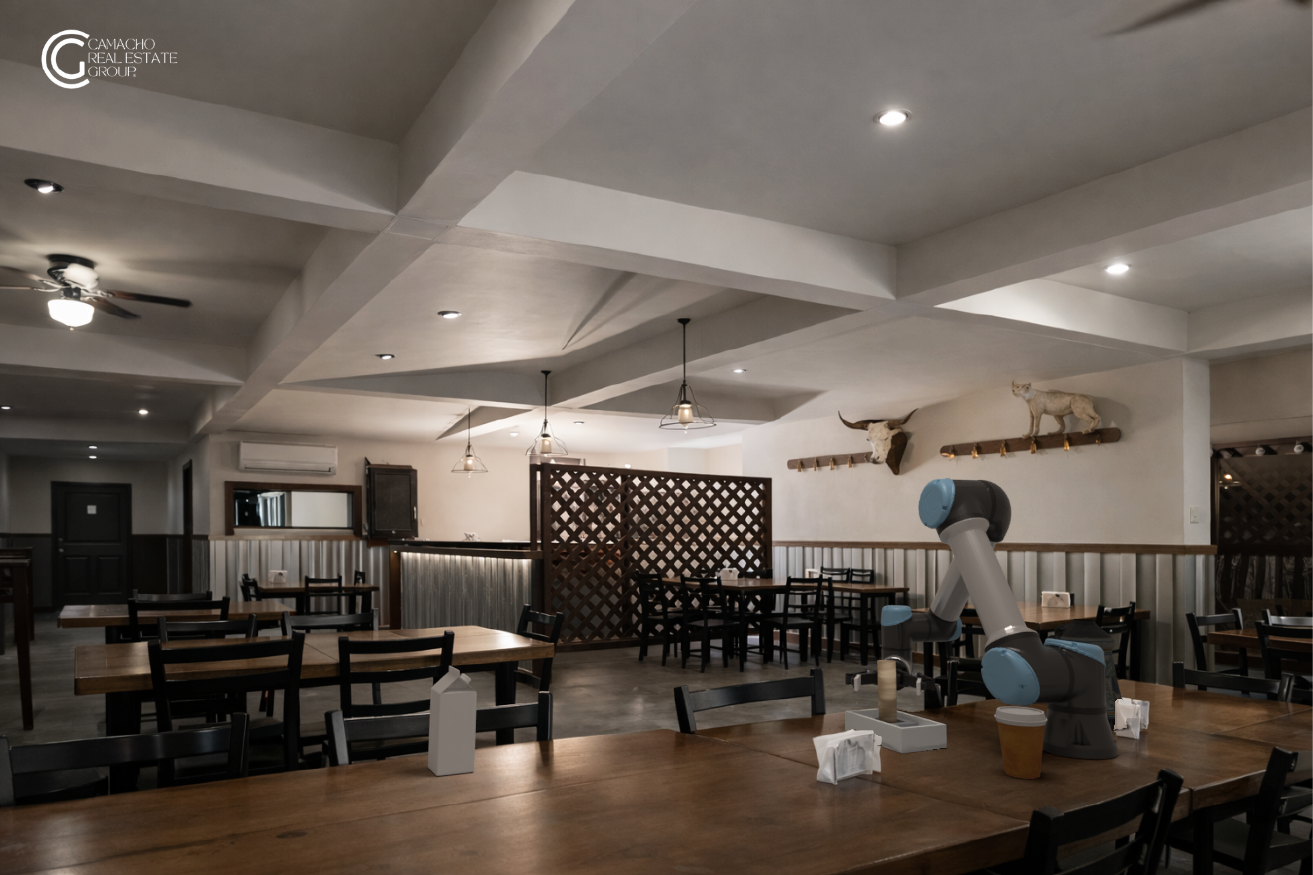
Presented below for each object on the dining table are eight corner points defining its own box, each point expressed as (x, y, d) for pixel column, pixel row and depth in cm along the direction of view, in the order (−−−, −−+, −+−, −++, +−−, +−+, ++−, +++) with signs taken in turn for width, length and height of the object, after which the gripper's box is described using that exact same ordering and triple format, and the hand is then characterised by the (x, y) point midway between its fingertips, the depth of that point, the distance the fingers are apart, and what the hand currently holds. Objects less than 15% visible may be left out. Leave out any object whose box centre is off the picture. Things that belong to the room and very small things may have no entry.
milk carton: (436, 777, 167) (440, 671, 169) (427, 767, 173) (431, 666, 175) (474, 772, 170) (477, 669, 172) (464, 763, 177) (467, 664, 178)
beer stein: (1126, 734, 211) (1122, 625, 213) (1037, 724, 221) (1034, 620, 223) (1130, 721, 225) (1126, 619, 228) (1046, 712, 235) (1043, 615, 237)
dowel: (901, 734, 202) (899, 661, 204) (886, 736, 200) (884, 662, 202) (889, 731, 206) (888, 659, 207) (875, 732, 204) (873, 660, 206)
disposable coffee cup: (1057, 781, 169) (1055, 715, 170) (1006, 780, 169) (1004, 714, 170) (1037, 768, 178) (1035, 706, 180) (988, 767, 179) (987, 705, 180)
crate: (946, 748, 194) (946, 724, 195) (901, 753, 189) (901, 728, 190) (887, 729, 212) (887, 707, 213) (845, 733, 208) (844, 710, 208)
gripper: (947, 692, 218) (945, 708, 198) (842, 685, 226) (830, 699, 206) (946, 660, 219) (944, 673, 199) (842, 654, 227) (830, 666, 207)
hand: (886, 686), depth 202 cm, fingers open, 13 cm apart
